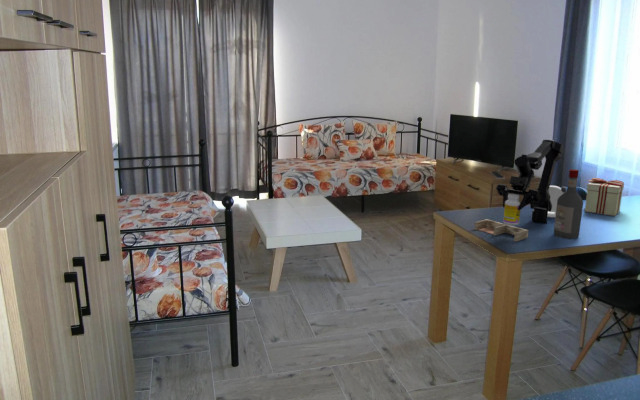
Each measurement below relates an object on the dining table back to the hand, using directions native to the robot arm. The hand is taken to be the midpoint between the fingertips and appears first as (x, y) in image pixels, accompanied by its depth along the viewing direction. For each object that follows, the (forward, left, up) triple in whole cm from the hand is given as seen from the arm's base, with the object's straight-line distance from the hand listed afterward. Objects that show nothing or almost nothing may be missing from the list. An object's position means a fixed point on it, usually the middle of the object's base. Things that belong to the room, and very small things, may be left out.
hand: (510, 208), depth 234 cm
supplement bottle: (-1, -1, -7) cm, 7 cm away
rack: (+4, -4, -13) cm, 14 cm away
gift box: (-47, -64, -14) cm, 80 cm away
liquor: (-25, -11, -13) cm, 30 cm away
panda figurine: (-21, -47, -13) cm, 53 cm away
